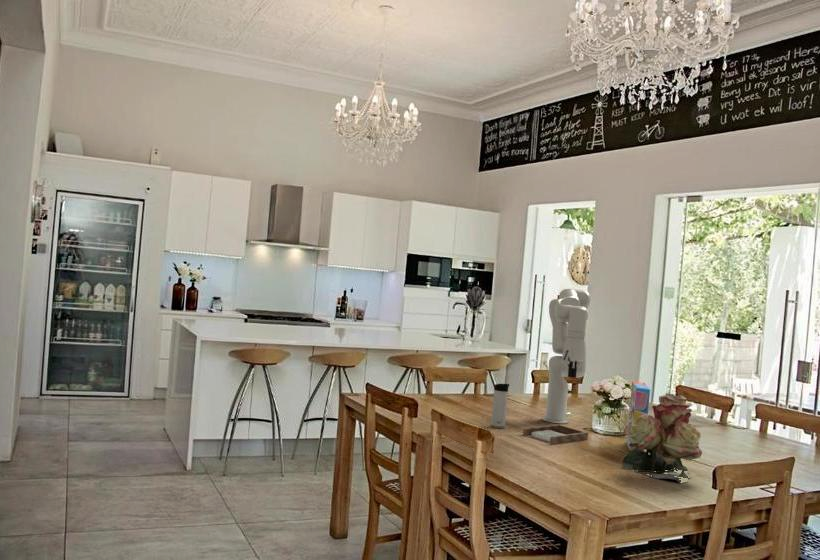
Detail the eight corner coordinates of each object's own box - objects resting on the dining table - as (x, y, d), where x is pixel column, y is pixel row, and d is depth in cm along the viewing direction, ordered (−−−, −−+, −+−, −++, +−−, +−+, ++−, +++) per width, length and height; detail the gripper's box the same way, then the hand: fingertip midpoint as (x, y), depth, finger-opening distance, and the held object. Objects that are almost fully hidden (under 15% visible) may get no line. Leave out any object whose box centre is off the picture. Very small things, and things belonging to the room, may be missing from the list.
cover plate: (549, 434, 326) (549, 429, 326) (567, 439, 318) (568, 435, 318) (531, 436, 318) (531, 432, 318) (549, 442, 310) (550, 437, 310)
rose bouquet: (612, 469, 278) (620, 389, 277) (650, 459, 299) (657, 385, 298) (678, 488, 260) (687, 403, 259) (713, 477, 280) (721, 398, 280)
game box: (643, 455, 306) (650, 389, 305) (630, 453, 307) (636, 387, 306) (638, 444, 326) (644, 382, 325) (625, 442, 327) (632, 381, 326)
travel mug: (500, 429, 329) (505, 384, 329) (488, 426, 333) (492, 382, 333) (507, 428, 334) (512, 383, 334) (495, 425, 338) (499, 381, 338)
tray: (557, 432, 335) (558, 424, 334) (587, 440, 322) (588, 432, 322) (522, 436, 319) (523, 428, 319) (552, 445, 307) (553, 437, 307)
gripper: (579, 334, 332) (575, 375, 333) (558, 334, 322) (554, 376, 323) (593, 336, 327) (589, 378, 327) (572, 336, 317) (568, 379, 317)
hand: (571, 377), depth 325 cm, fingers closed
